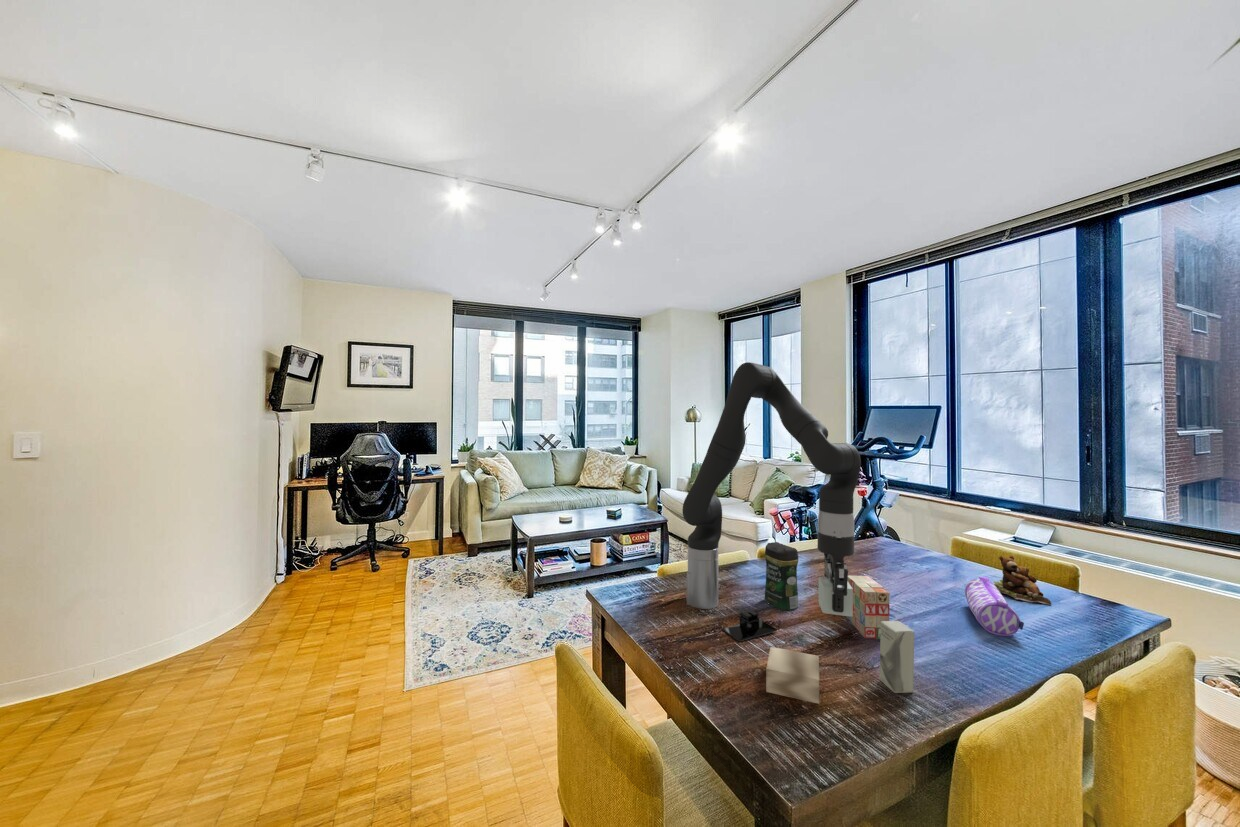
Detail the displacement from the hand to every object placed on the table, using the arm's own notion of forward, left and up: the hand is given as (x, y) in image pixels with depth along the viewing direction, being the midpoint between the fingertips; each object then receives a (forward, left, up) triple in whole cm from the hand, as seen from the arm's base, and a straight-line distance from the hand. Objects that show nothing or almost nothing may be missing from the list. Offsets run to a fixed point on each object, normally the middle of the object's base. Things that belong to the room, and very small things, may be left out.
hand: (834, 605), depth 102 cm
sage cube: (0, 0, -1) cm, 1 cm away
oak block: (-10, -9, -15) cm, 20 cm away
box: (+11, -4, -14) cm, 19 cm away
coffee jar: (-9, +34, -14) cm, 38 cm away
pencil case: (+47, +39, -15) cm, 63 cm away
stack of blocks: (+12, +29, -15) cm, 34 cm away
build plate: (-17, +13, -16) cm, 27 cm away
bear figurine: (+67, +64, -15) cm, 93 cm away
